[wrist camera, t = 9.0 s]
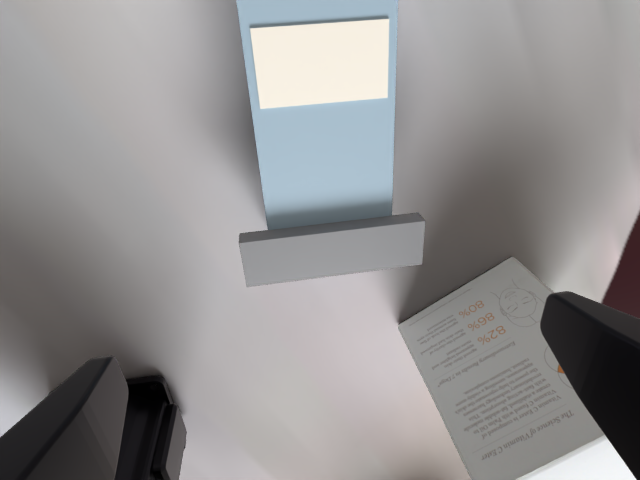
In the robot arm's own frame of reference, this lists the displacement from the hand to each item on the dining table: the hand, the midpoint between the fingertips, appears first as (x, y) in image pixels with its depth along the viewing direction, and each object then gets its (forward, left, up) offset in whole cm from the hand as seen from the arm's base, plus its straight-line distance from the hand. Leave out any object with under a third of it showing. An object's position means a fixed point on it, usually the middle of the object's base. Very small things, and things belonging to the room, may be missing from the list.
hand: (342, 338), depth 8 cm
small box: (+10, -11, -12) cm, 19 cm away
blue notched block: (+1, +3, -12) cm, 12 cm away
